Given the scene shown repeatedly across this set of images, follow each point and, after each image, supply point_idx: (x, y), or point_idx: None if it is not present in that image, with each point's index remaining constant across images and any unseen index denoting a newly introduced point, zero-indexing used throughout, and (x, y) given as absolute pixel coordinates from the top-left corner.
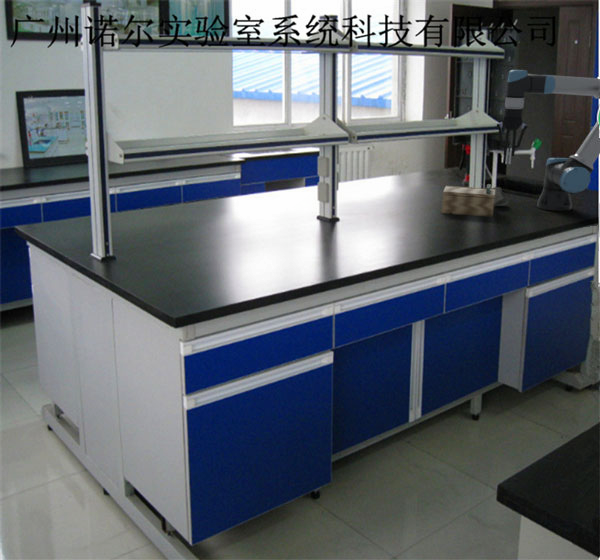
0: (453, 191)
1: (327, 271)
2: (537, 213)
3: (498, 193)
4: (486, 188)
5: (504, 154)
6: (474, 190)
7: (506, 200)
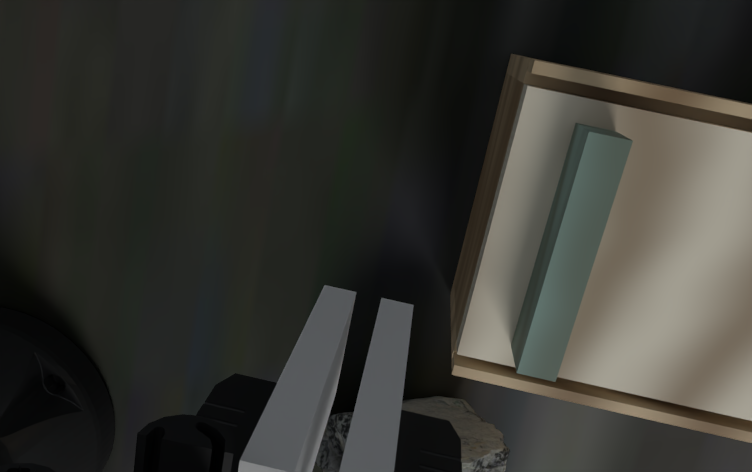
0: None
1: None
2: (138, 224)
3: None
4: (631, 141)
5: (437, 438)
6: (694, 294)
7: (325, 433)
